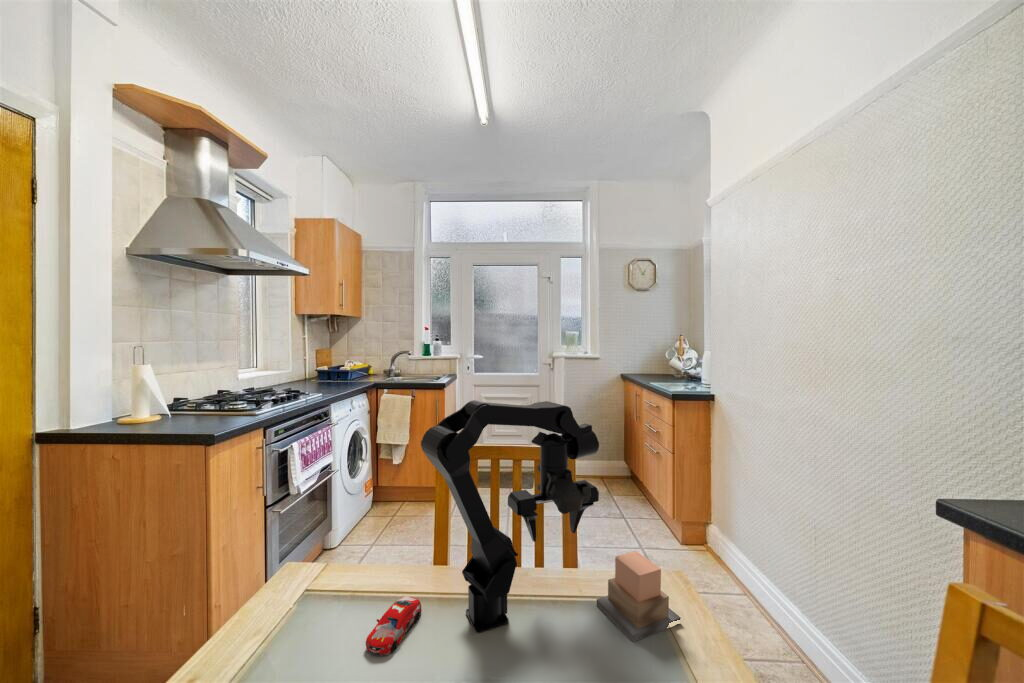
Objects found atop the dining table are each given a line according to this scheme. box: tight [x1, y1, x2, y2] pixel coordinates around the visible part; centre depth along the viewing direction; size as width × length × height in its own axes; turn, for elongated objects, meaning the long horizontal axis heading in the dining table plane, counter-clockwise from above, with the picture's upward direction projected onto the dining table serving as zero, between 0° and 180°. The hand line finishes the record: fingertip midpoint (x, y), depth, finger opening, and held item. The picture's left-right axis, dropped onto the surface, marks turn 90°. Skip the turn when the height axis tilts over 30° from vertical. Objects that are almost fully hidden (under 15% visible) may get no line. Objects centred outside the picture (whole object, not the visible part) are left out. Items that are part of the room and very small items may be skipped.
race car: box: [365, 595, 422, 657], centre depth 83 cm, size 13×5×4 cm, turn 161°
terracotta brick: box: [614, 550, 662, 602], centre depth 87 cm, size 5×7×5 cm
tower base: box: [596, 577, 682, 642], centre depth 87 cm, size 11×11×5 cm
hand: (553, 536), depth 95 cm, fingers open, 9 cm apart
